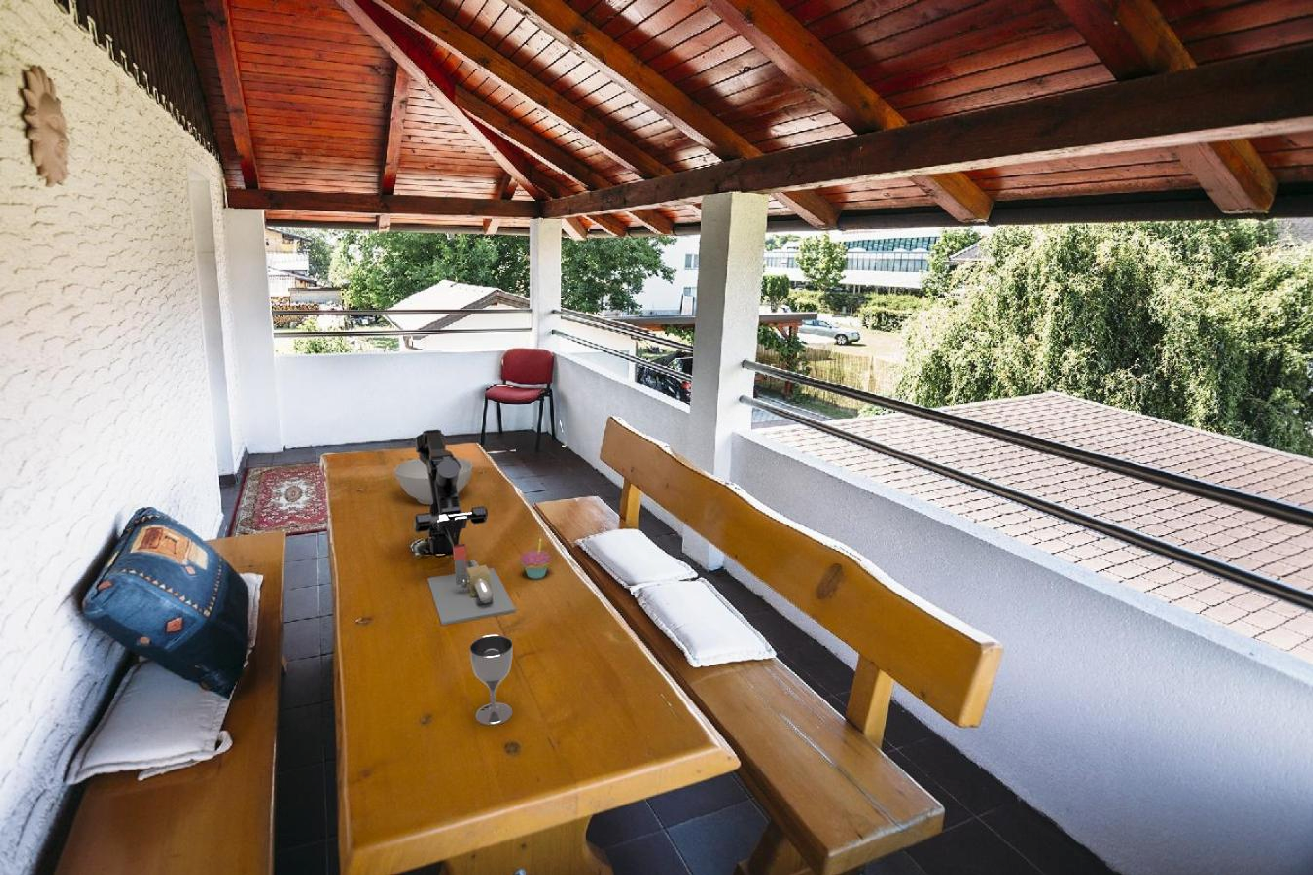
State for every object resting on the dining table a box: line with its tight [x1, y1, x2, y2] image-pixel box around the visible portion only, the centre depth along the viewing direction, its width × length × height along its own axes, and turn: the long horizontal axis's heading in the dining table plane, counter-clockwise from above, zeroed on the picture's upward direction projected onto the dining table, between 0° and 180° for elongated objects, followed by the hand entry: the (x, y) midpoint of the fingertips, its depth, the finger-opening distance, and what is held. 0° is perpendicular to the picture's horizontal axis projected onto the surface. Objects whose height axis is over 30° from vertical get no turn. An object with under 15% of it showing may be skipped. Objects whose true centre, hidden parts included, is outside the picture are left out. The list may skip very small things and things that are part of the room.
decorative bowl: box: [393, 456, 473, 506], centre depth 259 cm, size 27×27×12 cm
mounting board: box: [427, 567, 517, 626], centre depth 189 cm, size 26×18×1 cm
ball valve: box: [465, 559, 493, 606], centre depth 189 cm, size 20×6×6 cm, turn 25°
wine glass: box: [469, 634, 513, 726], centre depth 140 cm, size 8×8×15 cm
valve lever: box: [453, 543, 467, 588], centre depth 186 cm, size 2×3×12 cm
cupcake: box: [519, 537, 552, 580], centre depth 201 cm, size 9×8×12 cm
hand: (456, 548), depth 190 cm, fingers closed
